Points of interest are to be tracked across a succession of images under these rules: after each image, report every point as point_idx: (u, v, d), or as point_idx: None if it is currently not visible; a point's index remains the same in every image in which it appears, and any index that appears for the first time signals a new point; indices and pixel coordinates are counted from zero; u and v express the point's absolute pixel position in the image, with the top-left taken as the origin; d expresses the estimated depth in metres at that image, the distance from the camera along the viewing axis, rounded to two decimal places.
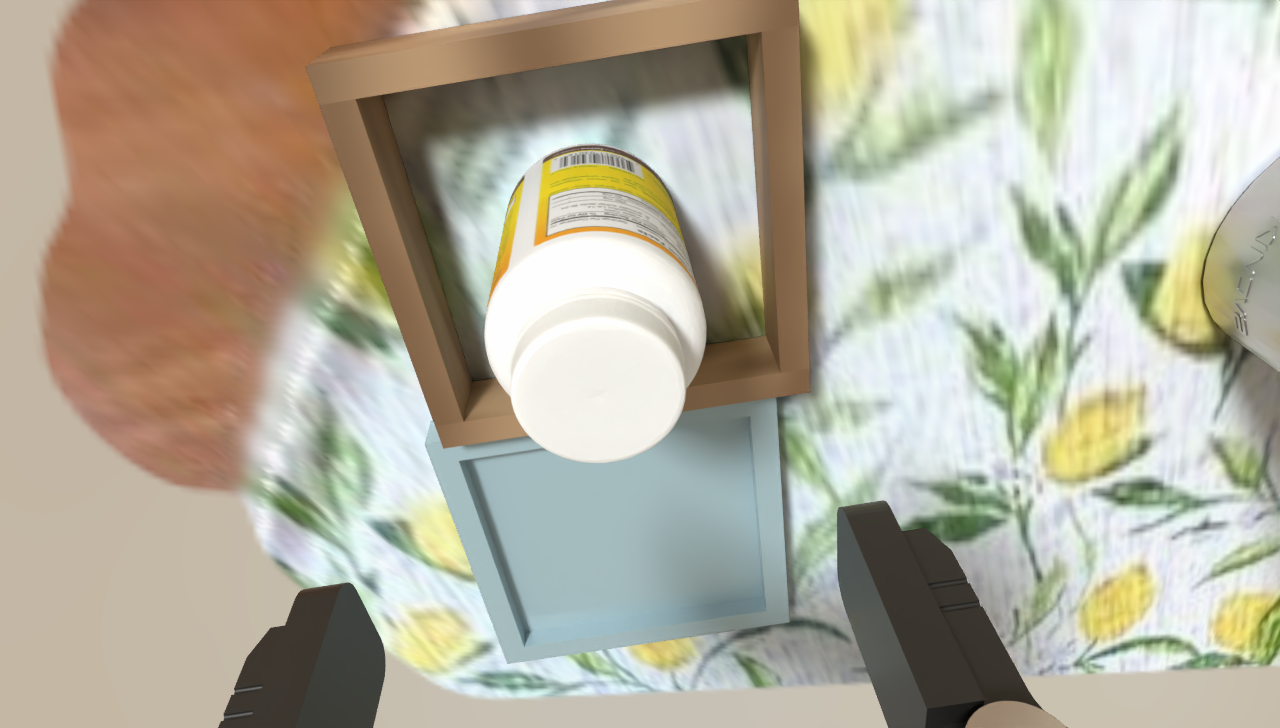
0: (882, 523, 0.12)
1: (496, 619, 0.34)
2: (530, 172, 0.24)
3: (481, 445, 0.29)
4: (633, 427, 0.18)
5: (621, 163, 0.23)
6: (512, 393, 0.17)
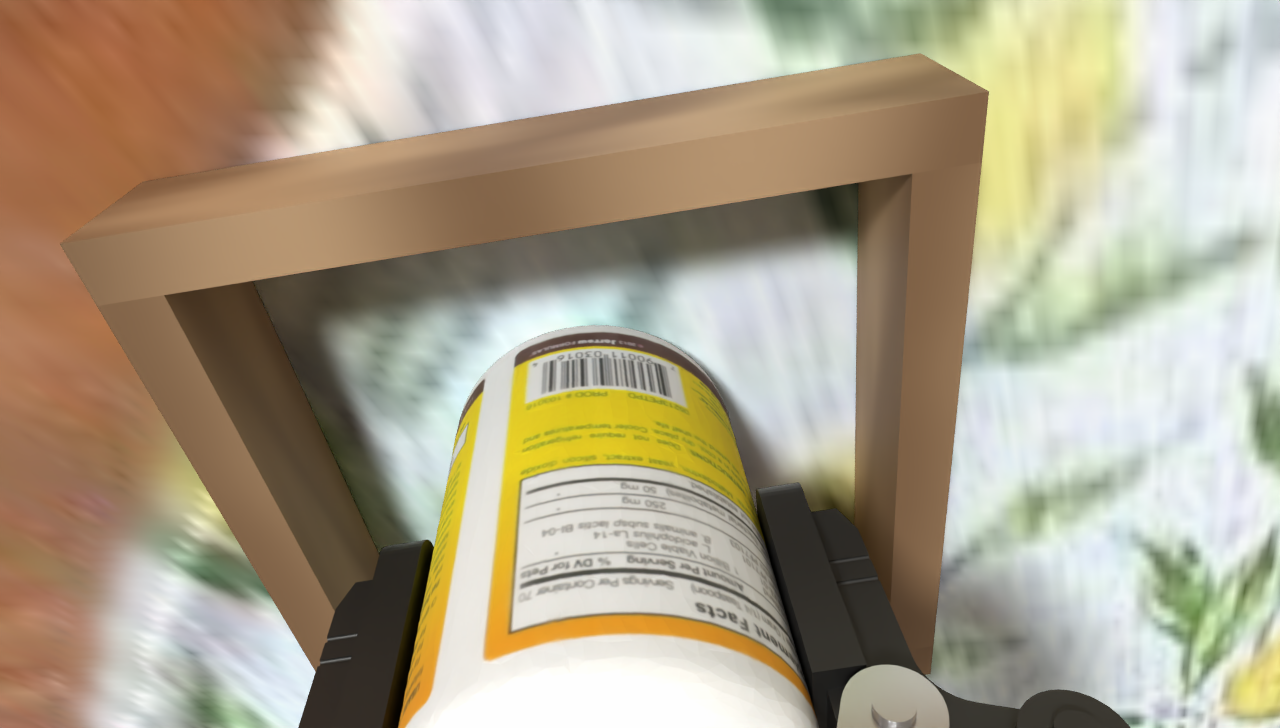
0: (793, 503, 0.12)
1: None
2: (493, 379, 0.14)
3: None
4: None
5: (648, 377, 0.13)
6: None
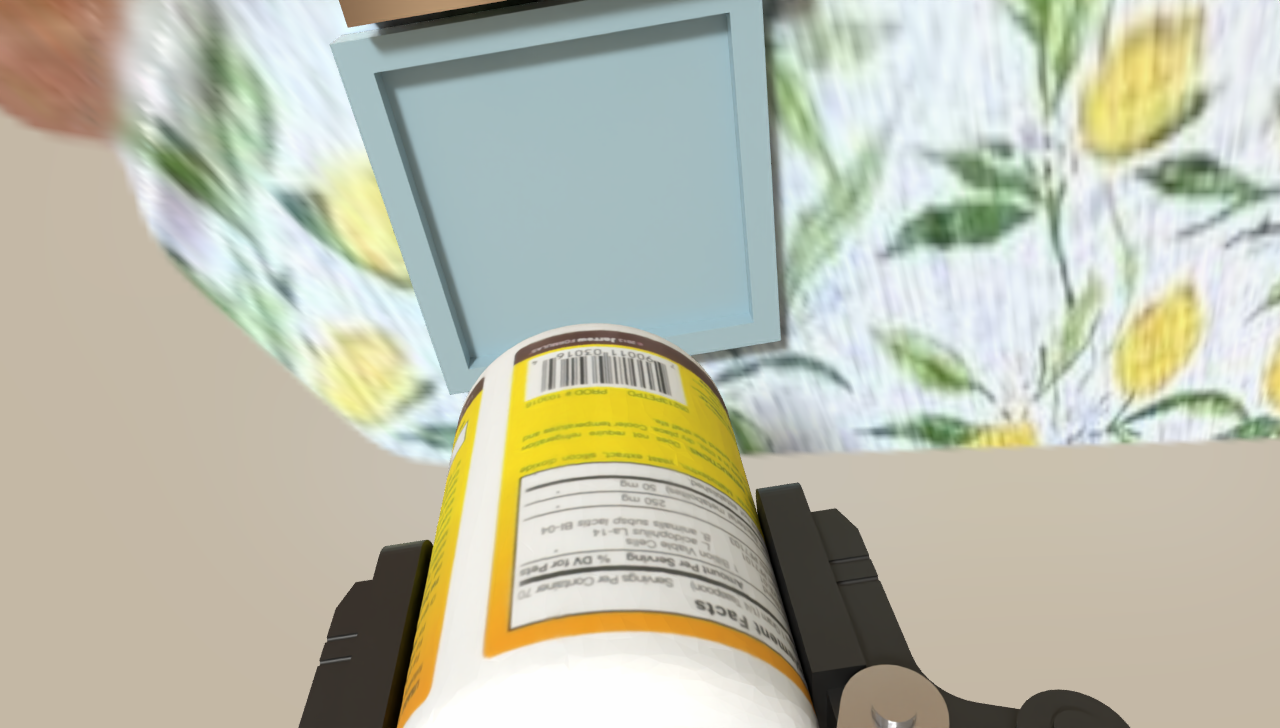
0: (793, 503, 0.12)
1: (433, 326, 0.29)
2: (493, 377, 0.14)
3: (400, 49, 0.24)
4: None
5: (647, 374, 0.13)
6: None
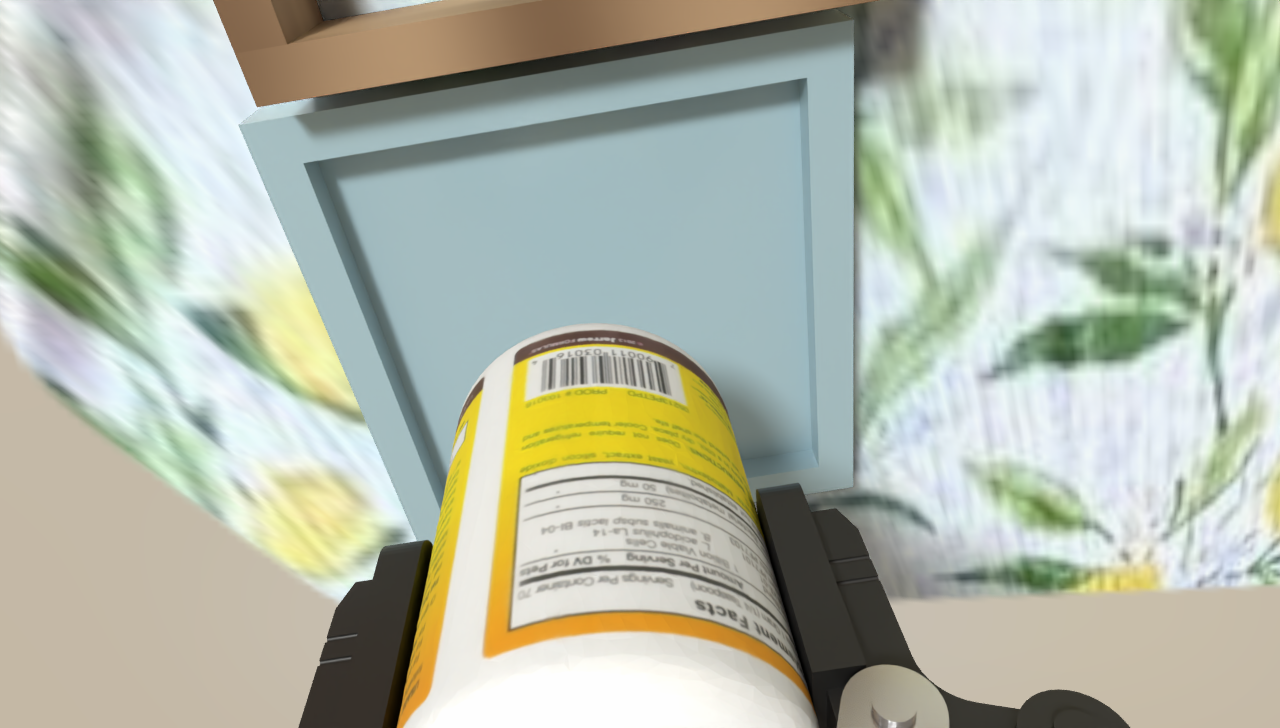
0: (793, 503, 0.12)
1: (398, 477, 0.22)
2: (493, 377, 0.14)
3: (339, 131, 0.17)
4: None
5: (647, 374, 0.13)
6: None
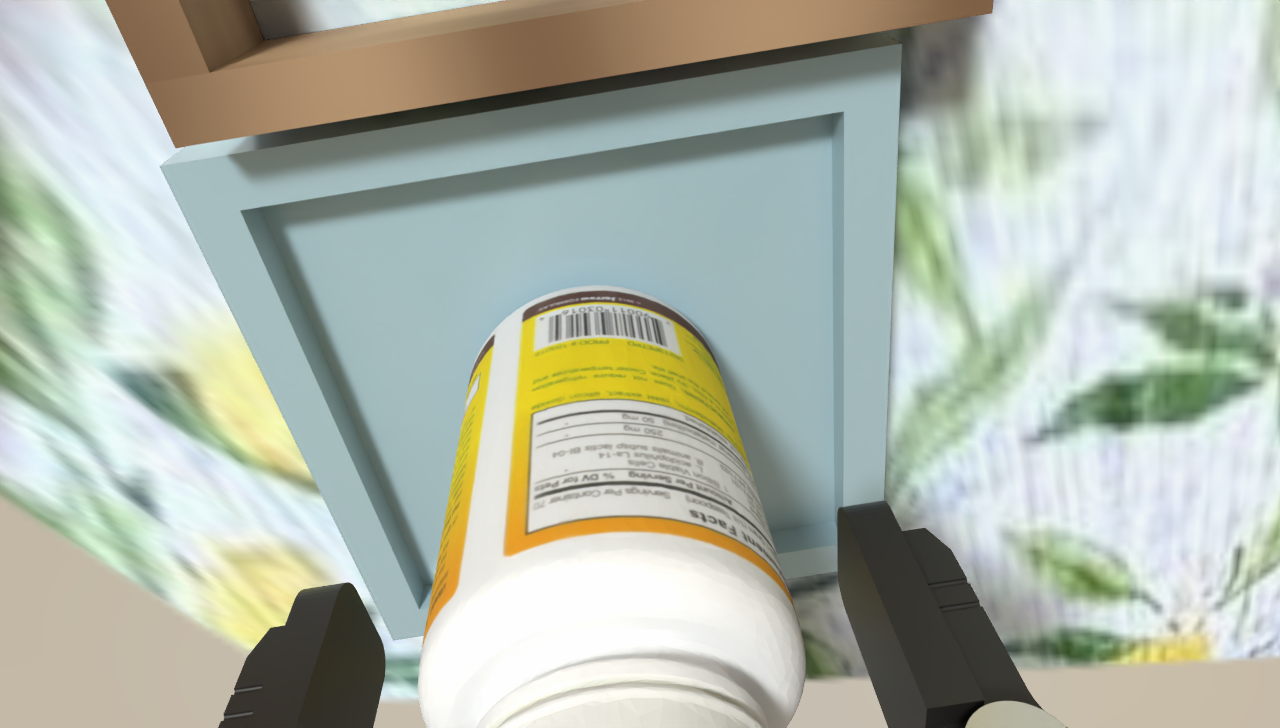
0: (882, 523, 0.12)
1: (363, 558, 0.19)
2: (503, 334, 0.15)
3: (282, 172, 0.14)
4: None
5: (645, 328, 0.15)
6: None
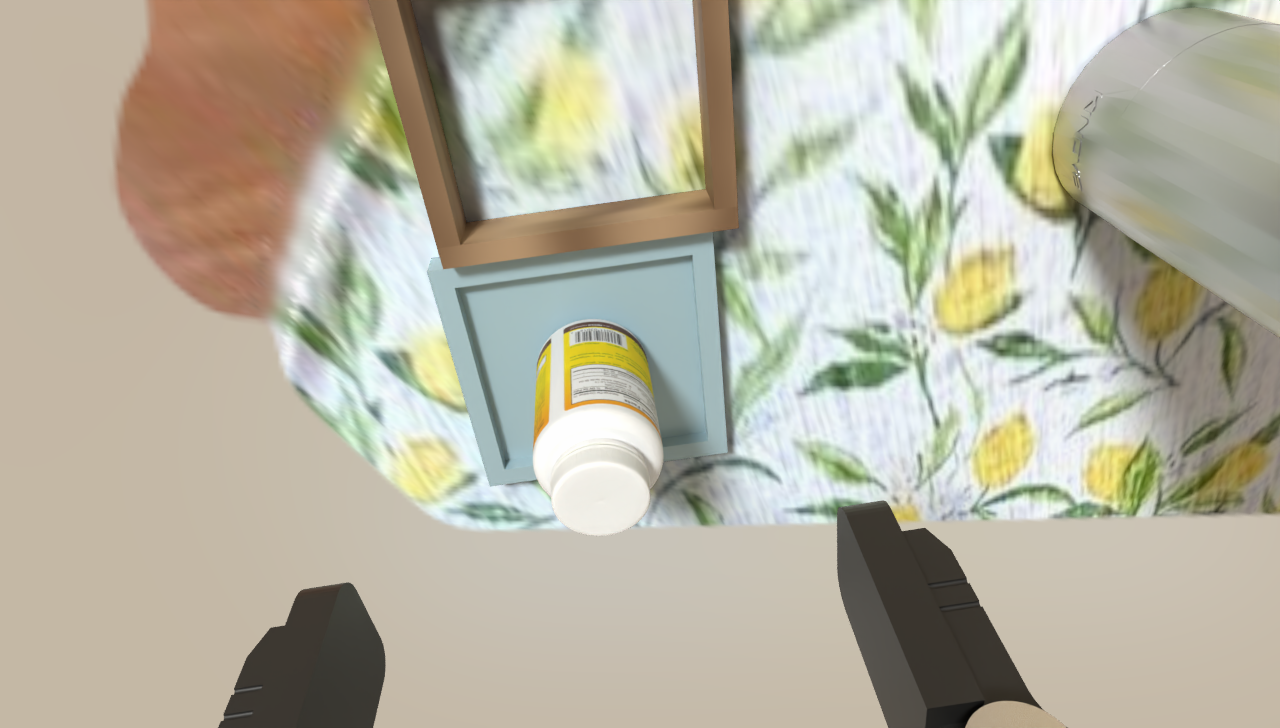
0: (882, 523, 0.12)
1: (481, 441, 0.41)
2: (555, 338, 0.37)
3: (473, 274, 0.36)
4: (620, 517, 0.32)
5: (613, 338, 0.36)
6: (552, 499, 0.31)
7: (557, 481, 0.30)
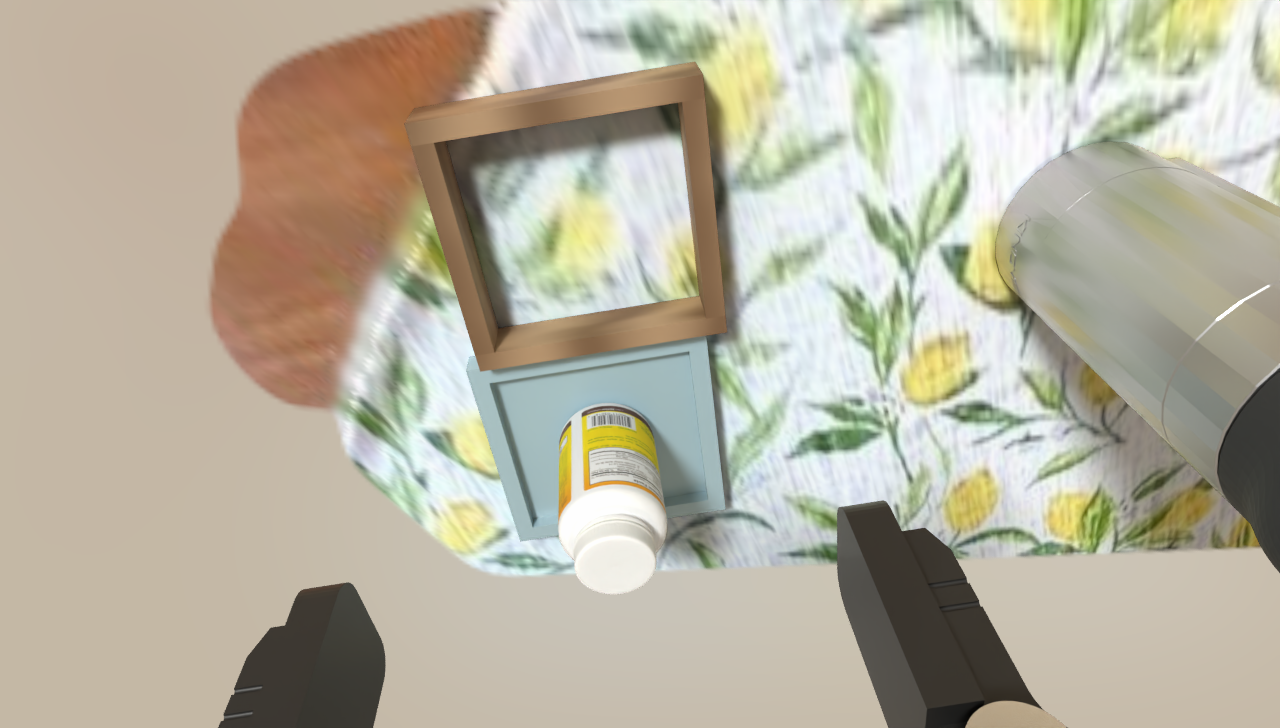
0: (882, 523, 0.12)
1: (513, 505, 0.47)
2: (574, 421, 0.44)
3: (504, 372, 0.42)
4: (631, 579, 0.38)
5: (624, 421, 0.43)
6: (575, 566, 0.37)
7: (579, 551, 0.37)
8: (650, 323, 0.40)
